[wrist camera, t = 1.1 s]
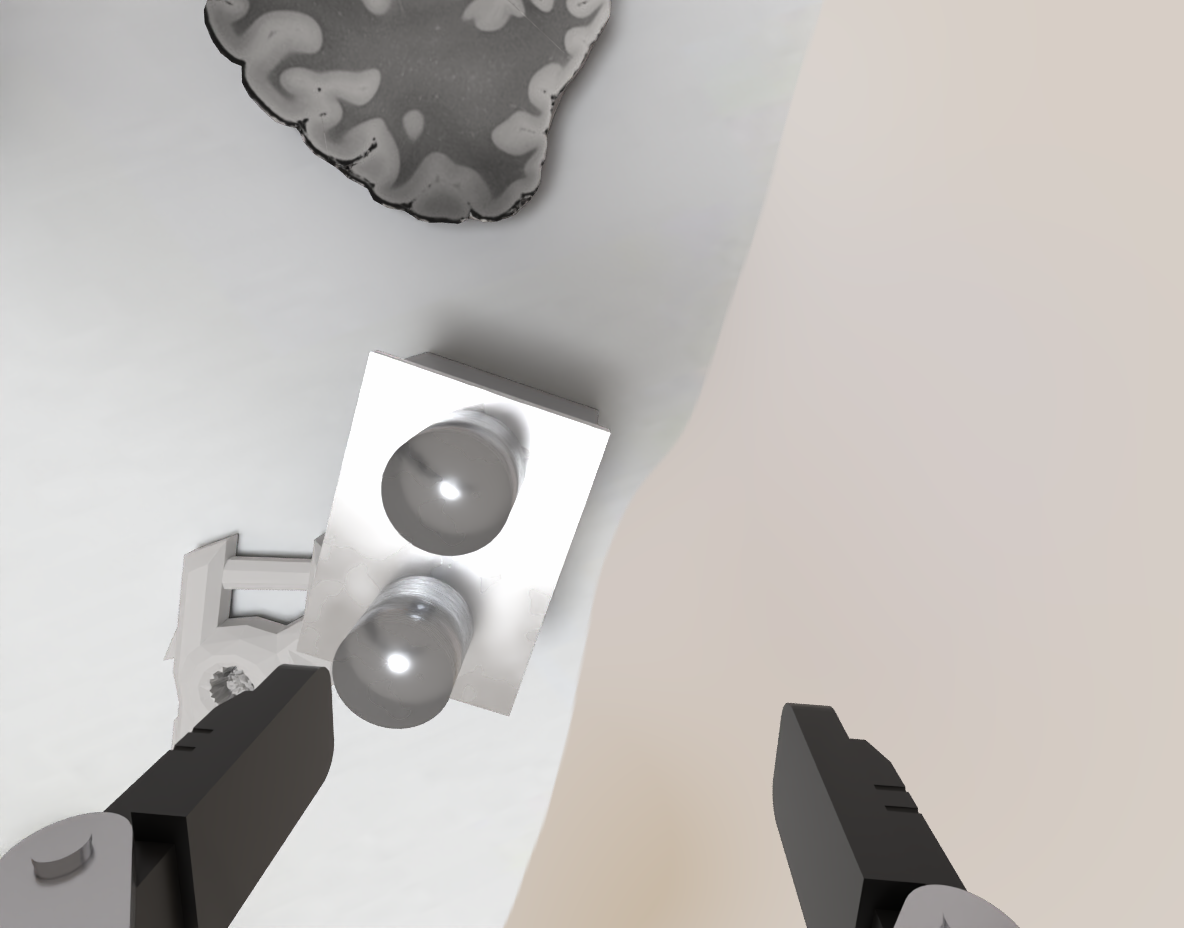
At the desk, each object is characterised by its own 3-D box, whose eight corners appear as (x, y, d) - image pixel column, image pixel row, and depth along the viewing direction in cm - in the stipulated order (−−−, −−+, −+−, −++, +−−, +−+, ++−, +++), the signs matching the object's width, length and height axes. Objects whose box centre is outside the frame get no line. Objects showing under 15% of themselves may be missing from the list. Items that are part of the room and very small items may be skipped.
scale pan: (511, 705, 30) (508, 716, 29) (304, 641, 29) (295, 651, 28) (610, 429, 26) (610, 433, 26) (377, 350, 26) (370, 351, 25)
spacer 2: (403, 685, 29) (372, 745, 25) (350, 601, 28) (309, 651, 24) (492, 646, 28) (474, 701, 24) (441, 559, 27) (414, 602, 23)
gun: (308, 852, 36) (134, 817, 36) (333, 808, 40) (175, 776, 39) (354, 557, 33) (161, 516, 32) (377, 536, 36) (202, 499, 36)
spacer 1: (448, 535, 27) (422, 575, 23) (393, 440, 26) (356, 465, 22) (545, 490, 26) (534, 523, 22) (492, 391, 25) (472, 408, 21)
